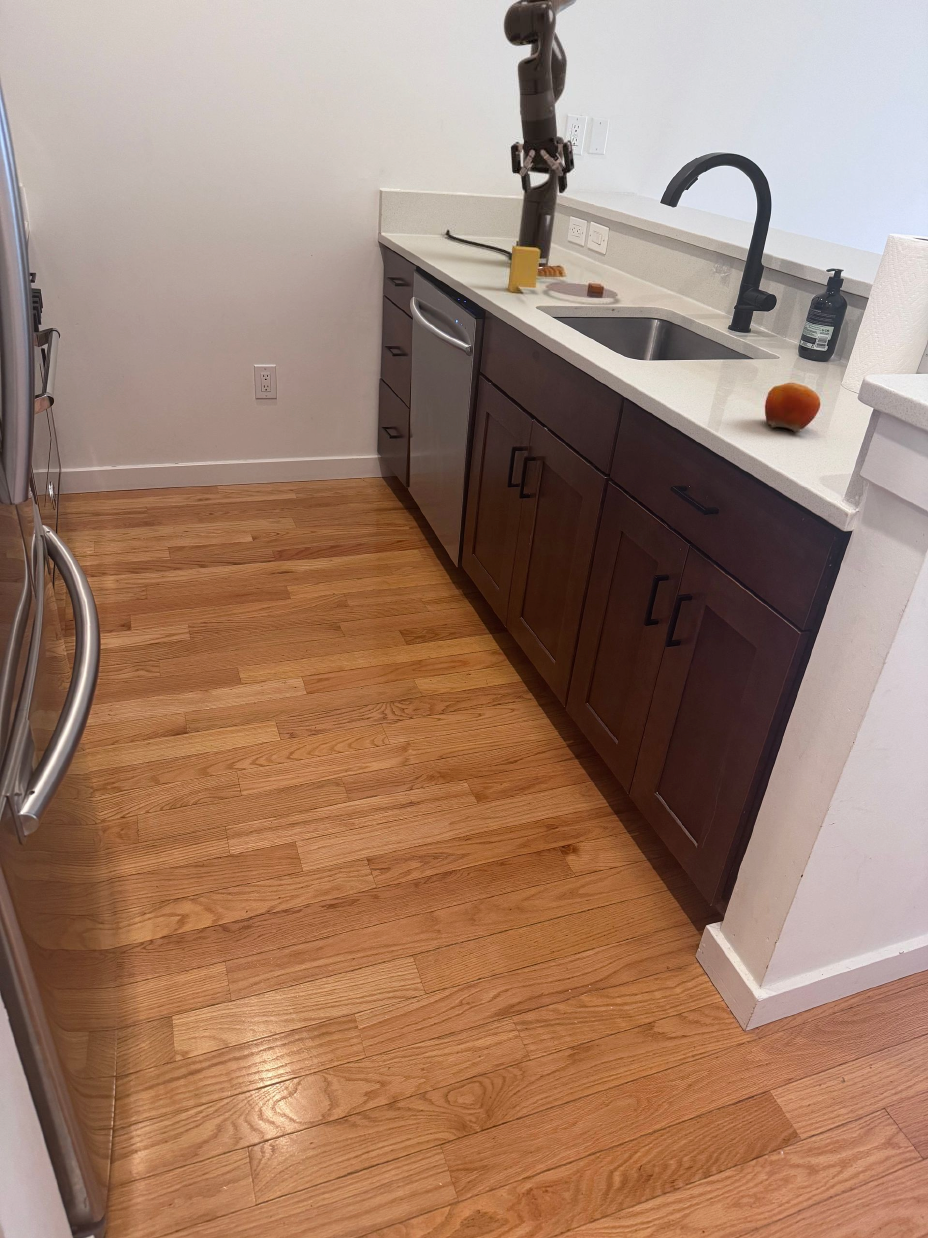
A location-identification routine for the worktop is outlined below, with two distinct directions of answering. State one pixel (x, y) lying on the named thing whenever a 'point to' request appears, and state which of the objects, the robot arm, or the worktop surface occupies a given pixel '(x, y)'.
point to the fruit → (791, 406)
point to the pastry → (551, 271)
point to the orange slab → (595, 288)
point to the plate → (579, 290)
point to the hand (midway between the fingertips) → (544, 191)
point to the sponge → (523, 268)
